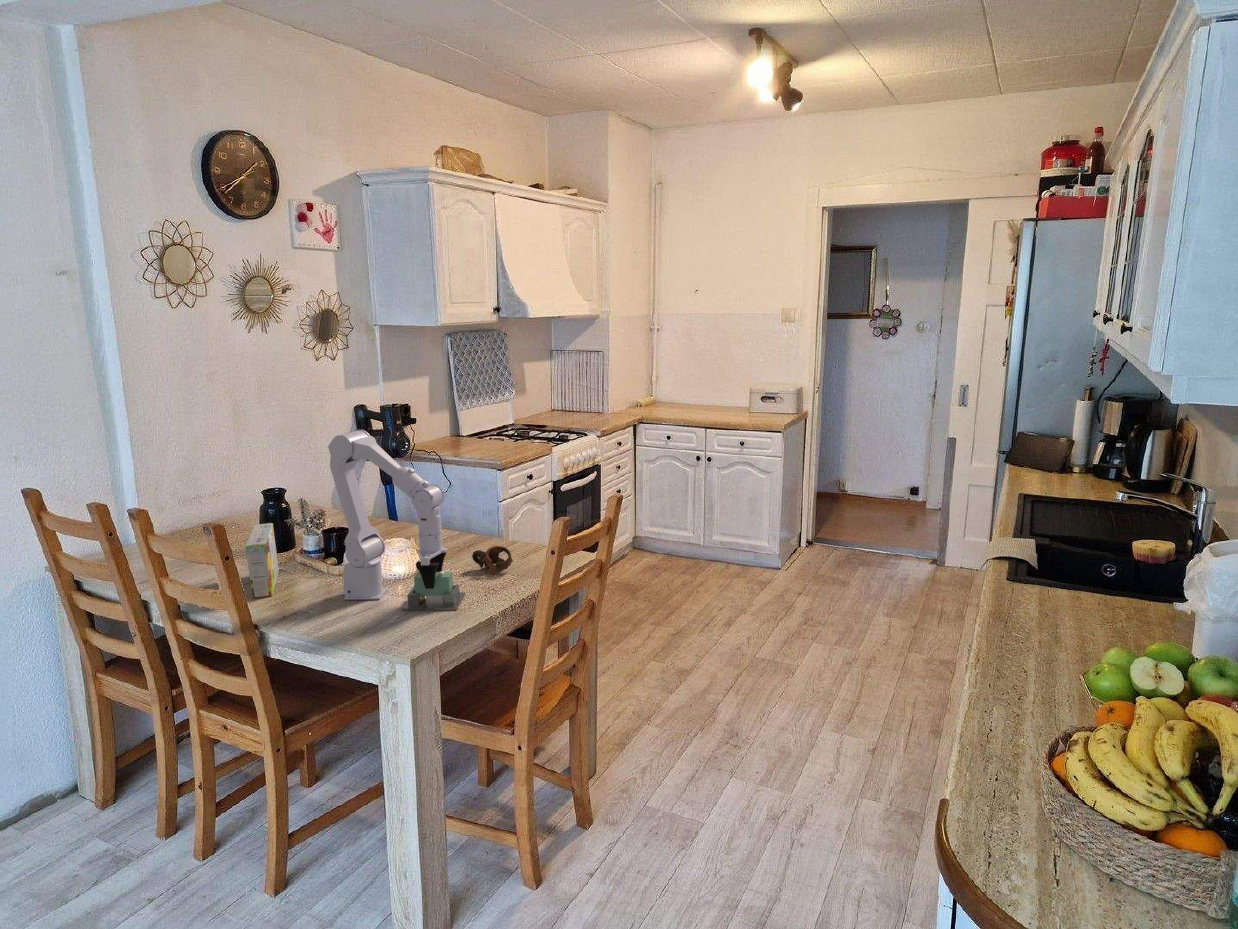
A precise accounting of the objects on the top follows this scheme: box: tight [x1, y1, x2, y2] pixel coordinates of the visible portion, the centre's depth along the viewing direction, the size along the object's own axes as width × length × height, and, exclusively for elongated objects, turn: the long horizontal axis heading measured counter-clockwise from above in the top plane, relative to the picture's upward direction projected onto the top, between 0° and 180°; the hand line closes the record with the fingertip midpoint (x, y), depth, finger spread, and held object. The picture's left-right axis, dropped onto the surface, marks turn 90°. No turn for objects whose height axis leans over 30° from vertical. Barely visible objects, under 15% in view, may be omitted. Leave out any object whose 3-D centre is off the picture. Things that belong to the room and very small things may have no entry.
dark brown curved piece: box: [471, 545, 514, 576], centre depth 233 cm, size 12×10×8 cm
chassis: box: [401, 584, 466, 612], centre depth 209 cm, size 14×11×4 cm
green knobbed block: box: [413, 570, 454, 596], centre depth 208 cm, size 9×4×6 cm, turn 89°
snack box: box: [245, 522, 280, 599], centre depth 223 cm, size 21×6×15 cm, turn 18°
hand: (433, 583), depth 208 cm, fingers open, 7 cm apart
